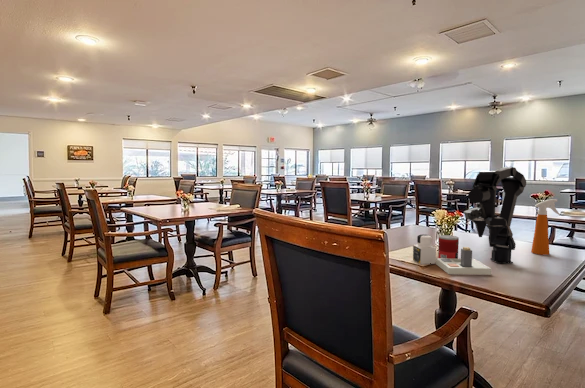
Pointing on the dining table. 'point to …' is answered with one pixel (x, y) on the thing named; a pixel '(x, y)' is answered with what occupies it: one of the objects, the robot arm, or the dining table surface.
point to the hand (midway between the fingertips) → (485, 239)
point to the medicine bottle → (424, 250)
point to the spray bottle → (542, 228)
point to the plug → (466, 257)
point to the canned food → (448, 246)
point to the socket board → (455, 267)
